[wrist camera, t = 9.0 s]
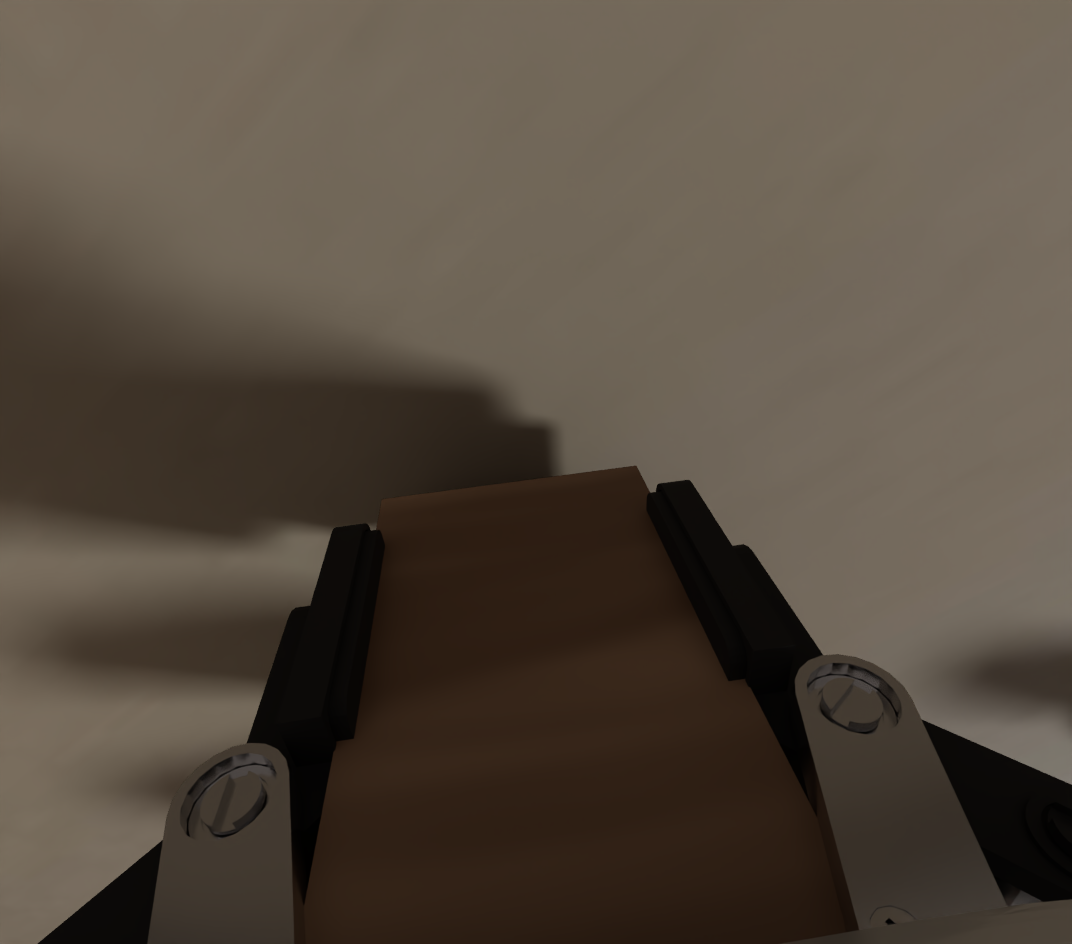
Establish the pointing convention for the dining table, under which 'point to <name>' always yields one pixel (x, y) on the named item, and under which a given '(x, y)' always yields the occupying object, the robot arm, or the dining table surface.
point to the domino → (555, 744)
